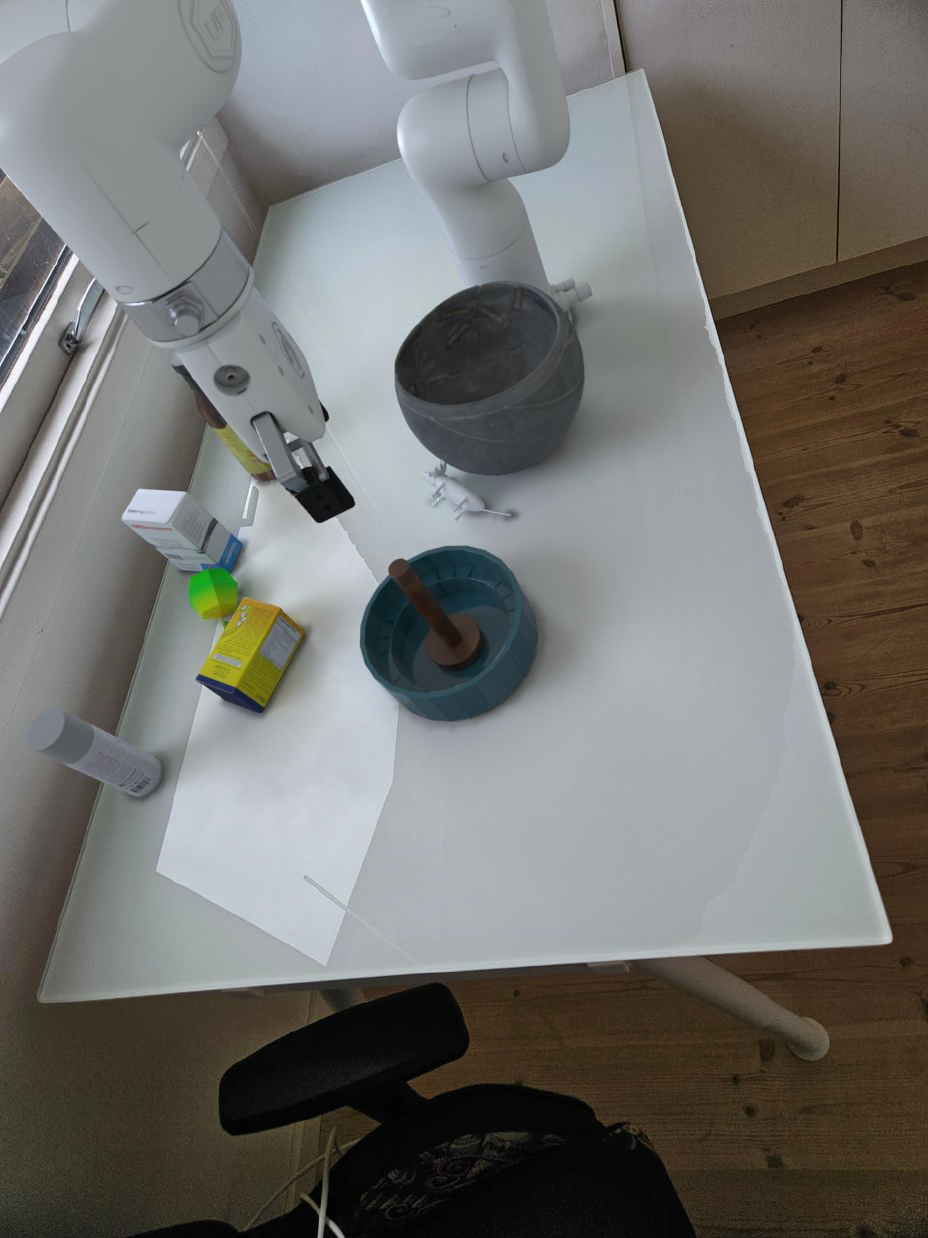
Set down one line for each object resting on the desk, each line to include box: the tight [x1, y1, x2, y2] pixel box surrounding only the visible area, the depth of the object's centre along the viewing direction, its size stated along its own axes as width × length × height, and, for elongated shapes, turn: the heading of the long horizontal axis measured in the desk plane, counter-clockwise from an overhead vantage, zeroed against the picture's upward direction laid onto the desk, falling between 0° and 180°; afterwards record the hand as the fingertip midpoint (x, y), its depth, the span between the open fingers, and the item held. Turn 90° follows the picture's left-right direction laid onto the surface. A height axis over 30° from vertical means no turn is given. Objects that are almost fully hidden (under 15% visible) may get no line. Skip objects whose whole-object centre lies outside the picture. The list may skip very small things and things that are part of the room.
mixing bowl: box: [359, 544, 539, 723], centre depth 83 cm, size 17×17×6 cm
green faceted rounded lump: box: [187, 568, 239, 631], centre depth 98 cm, size 7×6×9 cm
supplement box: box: [194, 596, 307, 715], centre depth 91 cm, size 6×6×11 cm
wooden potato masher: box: [387, 557, 484, 671], centre depth 79 cm, size 6×6×16 cm
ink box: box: [120, 488, 243, 575], centre depth 101 cm, size 9×5×12 cm, turn 71°
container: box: [27, 707, 164, 798], centre depth 86 cm, size 5×5×15 cm
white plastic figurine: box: [421, 459, 513, 522], centre depth 93 cm, size 12×5×5 cm
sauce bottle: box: [169, 351, 276, 482], centre depth 103 cm, size 6×6×20 cm
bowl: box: [393, 281, 586, 477], centre depth 91 cm, size 21×21×15 cm
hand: (324, 467), depth 61 cm, fingers open, 9 cm apart
